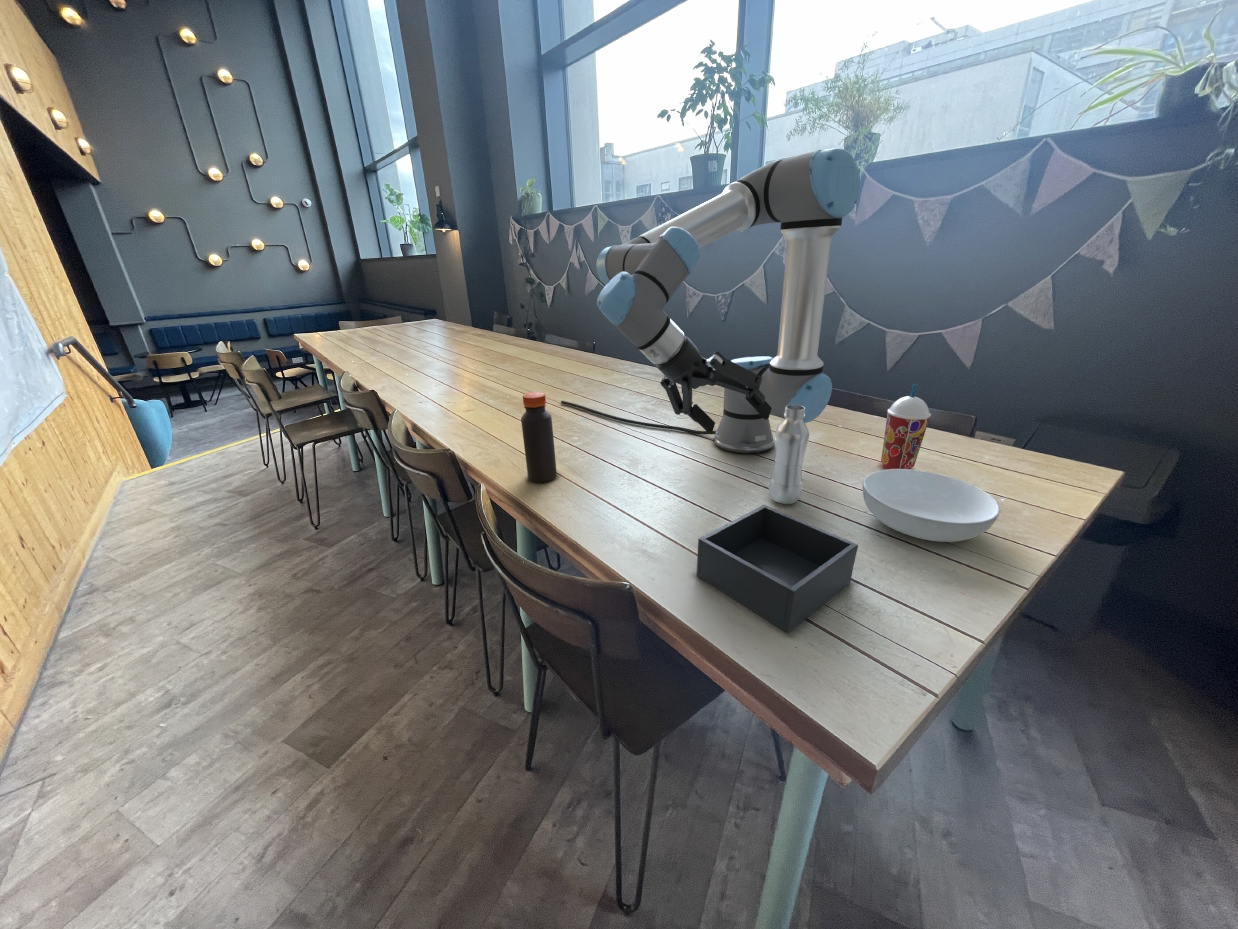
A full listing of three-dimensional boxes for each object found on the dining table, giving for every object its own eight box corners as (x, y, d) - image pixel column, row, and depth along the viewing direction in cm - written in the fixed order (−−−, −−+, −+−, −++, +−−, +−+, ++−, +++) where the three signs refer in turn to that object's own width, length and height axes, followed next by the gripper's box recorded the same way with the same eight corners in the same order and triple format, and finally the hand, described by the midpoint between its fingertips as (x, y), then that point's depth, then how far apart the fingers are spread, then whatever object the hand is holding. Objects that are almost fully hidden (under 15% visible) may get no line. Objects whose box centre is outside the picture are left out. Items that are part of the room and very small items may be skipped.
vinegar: (540, 485, 107) (531, 400, 99) (522, 478, 111) (512, 395, 103) (562, 476, 111) (555, 394, 103) (544, 468, 116) (536, 389, 108)
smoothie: (922, 476, 105) (944, 389, 97) (882, 474, 107) (900, 388, 99) (909, 462, 113) (928, 380, 105) (871, 460, 114) (888, 379, 106)
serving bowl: (936, 571, 74) (946, 534, 72) (832, 512, 92) (838, 481, 89) (1016, 539, 82) (1029, 504, 79) (906, 490, 99) (913, 461, 97)
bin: (696, 575, 75) (698, 538, 72) (760, 538, 84) (763, 504, 82) (787, 633, 63) (794, 591, 60) (850, 583, 72) (858, 544, 69)
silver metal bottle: (800, 494, 99) (812, 403, 91) (800, 510, 93) (814, 413, 85) (768, 491, 101) (778, 401, 93) (766, 505, 95) (776, 411, 87)
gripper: (618, 384, 91) (687, 447, 101) (718, 340, 72) (791, 423, 82) (632, 357, 95) (697, 420, 104) (731, 308, 75) (800, 390, 85)
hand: (738, 421), depth 93 cm, fingers open, 13 cm apart
